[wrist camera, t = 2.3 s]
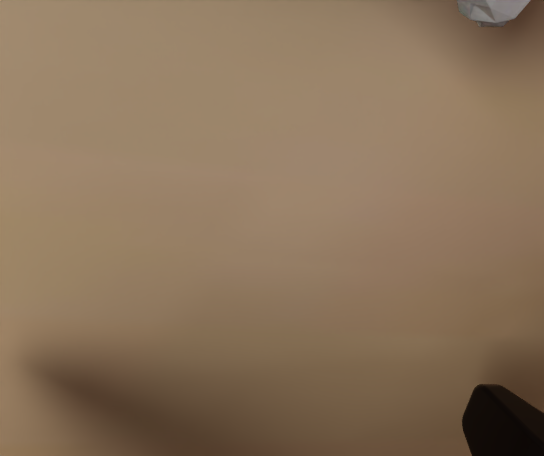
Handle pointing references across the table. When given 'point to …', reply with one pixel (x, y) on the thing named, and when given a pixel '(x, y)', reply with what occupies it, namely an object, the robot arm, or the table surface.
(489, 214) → the table surface
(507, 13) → the packaged food
